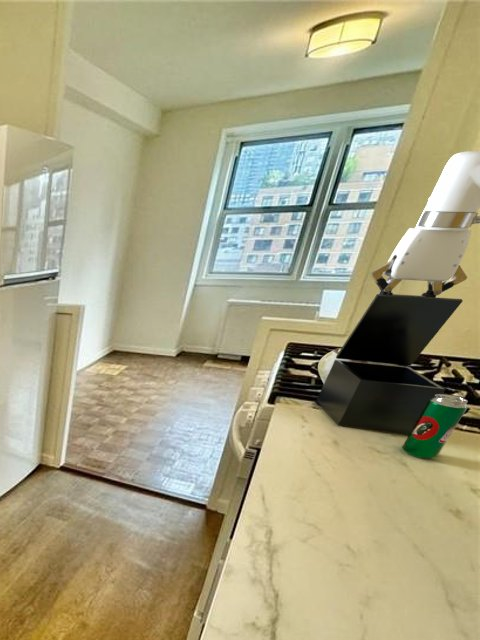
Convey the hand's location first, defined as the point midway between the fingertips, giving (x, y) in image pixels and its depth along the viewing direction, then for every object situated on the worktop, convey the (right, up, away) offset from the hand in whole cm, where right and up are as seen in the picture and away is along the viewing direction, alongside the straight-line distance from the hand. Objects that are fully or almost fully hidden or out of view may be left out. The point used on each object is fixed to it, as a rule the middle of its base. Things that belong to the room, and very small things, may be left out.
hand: (399, 310), depth 107 cm
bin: (-3, -23, +5) cm, 24 cm away
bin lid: (-1, -5, 0) cm, 5 cm away
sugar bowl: (+7, -16, +20) cm, 26 cm away
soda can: (-7, -32, -10) cm, 34 cm away
